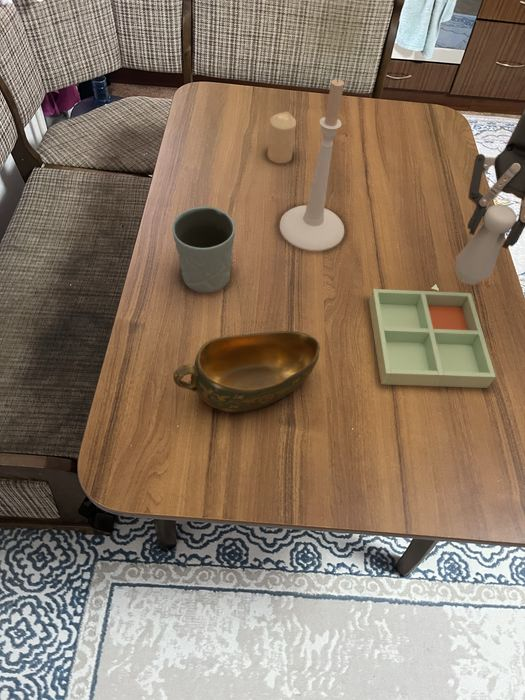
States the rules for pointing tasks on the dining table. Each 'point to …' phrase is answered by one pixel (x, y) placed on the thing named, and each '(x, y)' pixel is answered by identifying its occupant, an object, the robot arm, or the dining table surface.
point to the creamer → (250, 369)
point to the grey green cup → (204, 247)
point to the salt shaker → (484, 245)
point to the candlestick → (318, 191)
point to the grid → (429, 339)
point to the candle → (281, 137)
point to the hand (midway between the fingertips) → (488, 240)
